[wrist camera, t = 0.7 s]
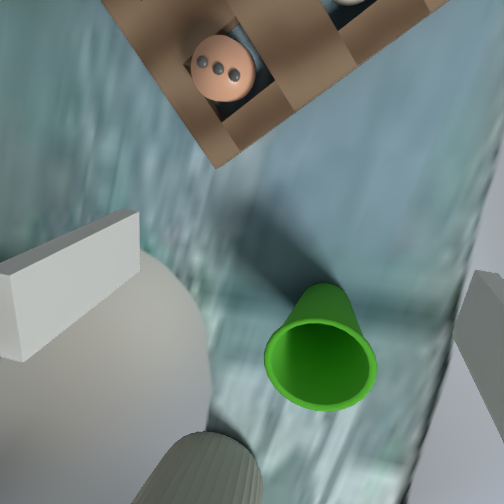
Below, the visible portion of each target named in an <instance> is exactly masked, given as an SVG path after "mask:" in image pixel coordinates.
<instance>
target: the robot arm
mask: <svg viewBox="0 0 504 504" xmlns="http://www.w3.org/2000/svg"><path fill="white" fill-rule="evenodd" d="M139 253H140V247H139V211H133V210H128V209H120V210H118V211H116V212H114V213H111V214H109V215H107V216H105V217H102V218H100V219H98V220H96V221H93V222H91V223H89V224H87V225H84V226H82V227H80V228H78V229H75V230H73V231H71V232H69V233H66V234H64V235H62V236H60V237H57V238H55V239H53V240H51V241H48V242H46V243H44V244H42V245H40V246H37V247H35V248H33V249H31V250H28V251H26V252H24V253H22V254H19V255H17V256H15V257H13V258H10V259H8V260H6V261H4V262H1V263H0V357H4V358H8V359H12V360H15V361H19V362H25V361H26V360H27V359H29V358H30V357H31V356H32V355H34V354H35V353H36V352H38V351H39V350H40V349H41V348H42V347H44V346H45V345H46V344H47V343H49V342H50V341H51V340H53V339H54V338H55V337H56V336H58V335H59V334H60V333H61V332H63V331H64V330H65V329H67V328H68V327H69V326H70V325H72V324H73V323H74V322H76V321H77V320H78V319H79V318H81V317H82V316H83V315H84V314H86V313H87V312H88V311H90V310H91V309H92V308H93V307H95V306H96V305H97V304H98V303H100V302H101V301H102V300H103V299H105V298H106V297H107V296H108V295H110V294H111V293H112V292H114V291H115V290H116V289H117V288H119V287H120V286H121V285H123V284H124V283H125V282H126V281H127V280H129V279H130V278H131V277H133V276H134V275H135V274H136V273H138V272H139V271H140V254H139ZM452 336H453V338H454V340H455V342H456V344H457V346H458V348H459V350H460V352H461V354H462V357H463V358H464V361H465V363H466V365H467V367H468V369H469V371H470V373H471V375H472V377H473V379H474V382H475V383H476V386H477V388H478V390H479V392H480V394H481V396H482V398H483V400H484V402H485V404H486V406H487V409H488V411H489V413H490V415H491V417H492V419H493V421H494V423H495V425H496V427H497V429H498V431H499V433H500V436H501V438H502V440H503V442H504V279H503V278H502V277H501V276H500V275H499V274H497V273H491V272H485V271H479V270H475V271H474V274H473V277H472V280H471V282H470V285H469V288H468V291H467V293H466V296H465V299H464V302H463V305H462V307H461V310H460V313H459V316H458V318H457V321H456V324H455V327H454V329H453V332H452Z"/></svg>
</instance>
